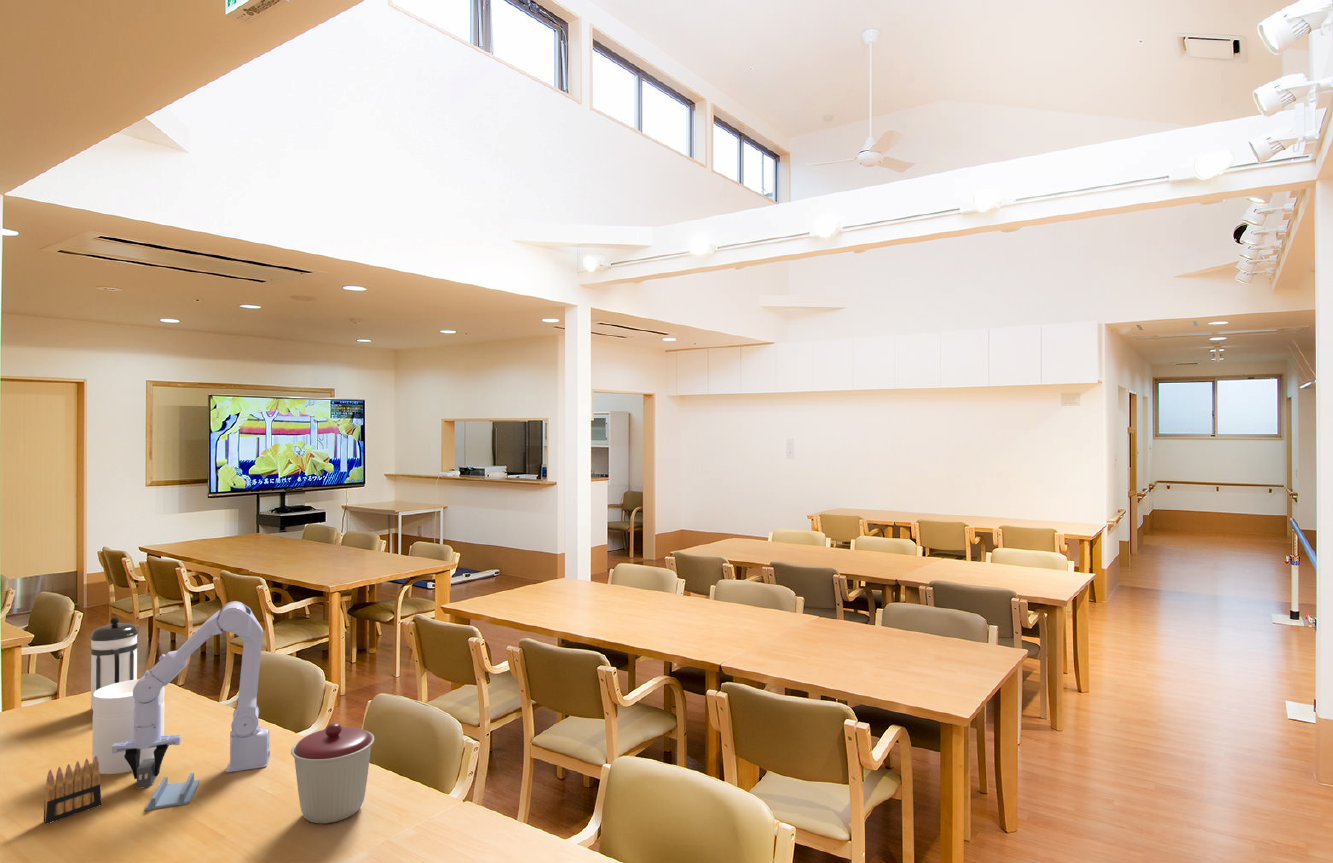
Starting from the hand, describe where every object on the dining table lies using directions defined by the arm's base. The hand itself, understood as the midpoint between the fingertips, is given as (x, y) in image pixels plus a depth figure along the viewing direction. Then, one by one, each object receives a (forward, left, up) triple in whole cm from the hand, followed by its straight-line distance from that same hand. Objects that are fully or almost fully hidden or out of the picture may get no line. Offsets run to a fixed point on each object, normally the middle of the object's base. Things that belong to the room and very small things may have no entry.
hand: (147, 776), depth 190 cm
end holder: (-8, +11, -2) cm, 14 cm away
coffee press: (+23, -64, -2) cm, 68 cm away
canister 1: (+8, -17, -2) cm, 19 cm away
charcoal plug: (0, 0, -2) cm, 2 cm away
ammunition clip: (+12, +12, -2) cm, 17 cm away
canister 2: (-45, +35, -2) cm, 57 cm away
